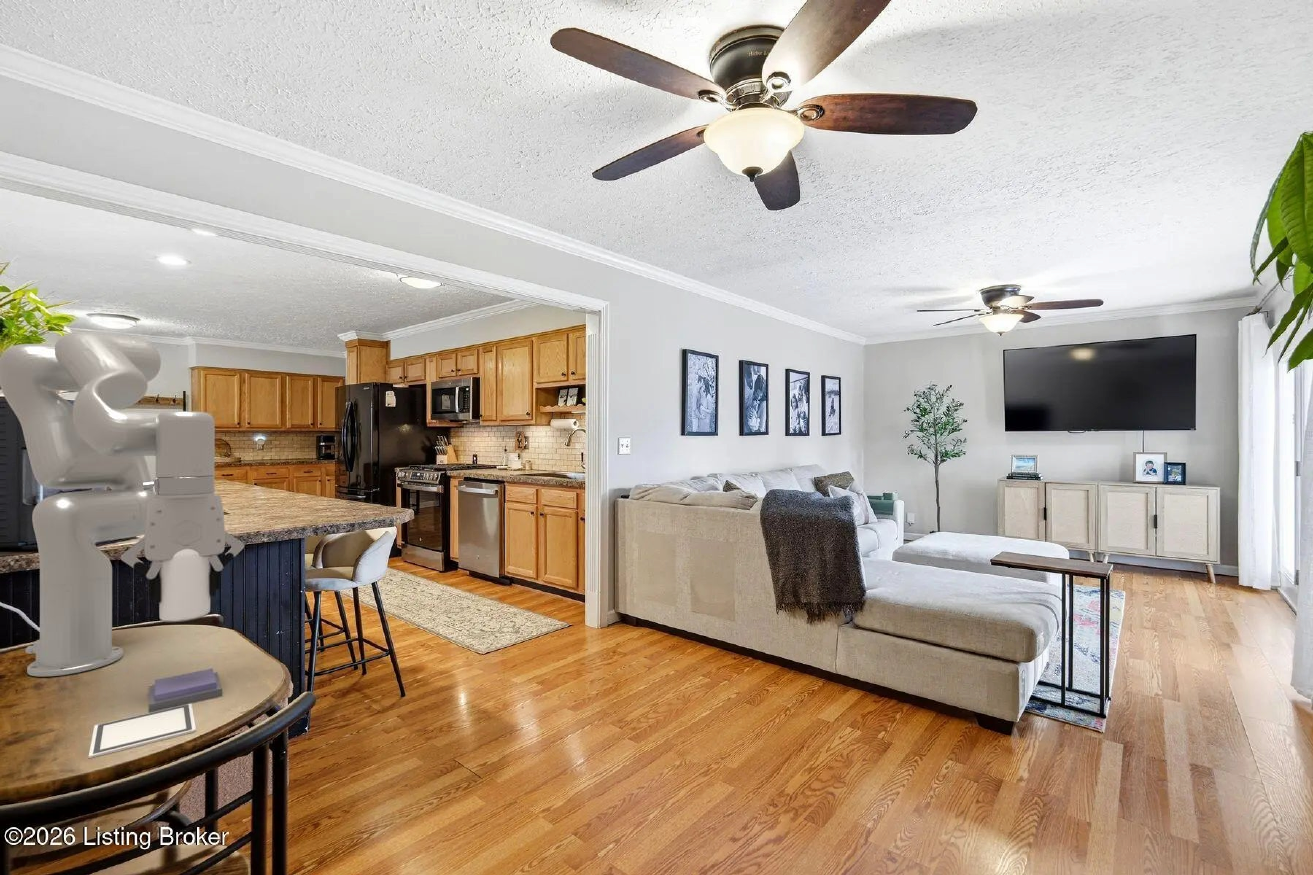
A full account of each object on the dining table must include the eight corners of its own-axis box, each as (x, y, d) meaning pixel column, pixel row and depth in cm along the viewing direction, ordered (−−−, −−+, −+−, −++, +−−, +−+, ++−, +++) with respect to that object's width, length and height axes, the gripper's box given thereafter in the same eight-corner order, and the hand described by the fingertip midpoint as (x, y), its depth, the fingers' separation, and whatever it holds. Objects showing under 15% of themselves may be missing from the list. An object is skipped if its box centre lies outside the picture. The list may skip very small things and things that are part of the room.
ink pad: (148, 712, 90) (148, 697, 90) (148, 693, 97) (148, 679, 97) (222, 695, 96) (222, 682, 96) (217, 678, 103) (217, 666, 103)
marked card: (88, 758, 77) (88, 755, 77) (94, 727, 86) (94, 724, 86) (195, 731, 85) (195, 728, 85) (191, 705, 93) (191, 702, 93)
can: (152, 624, 93) (152, 547, 93) (167, 613, 99) (167, 540, 99) (203, 619, 95) (203, 544, 95) (215, 609, 101) (215, 538, 101)
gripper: (112, 492, 88) (112, 613, 88) (252, 486, 100) (252, 593, 100) (114, 489, 94) (114, 602, 94) (247, 483, 105) (247, 585, 105)
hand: (185, 597), depth 97 cm, fingers closed on can, 6 cm apart
